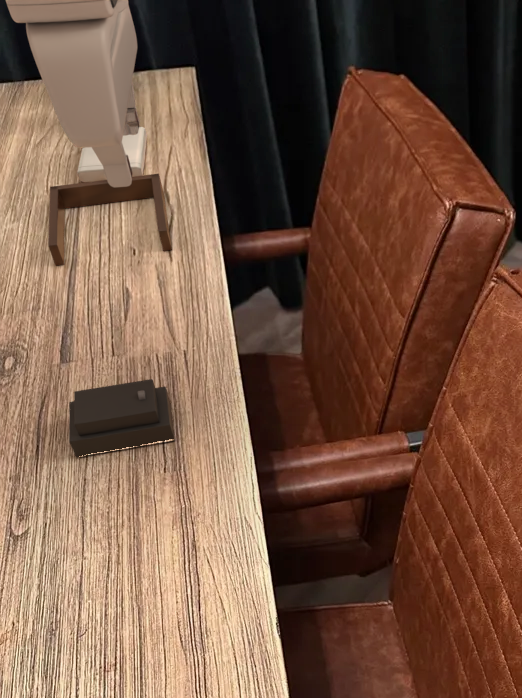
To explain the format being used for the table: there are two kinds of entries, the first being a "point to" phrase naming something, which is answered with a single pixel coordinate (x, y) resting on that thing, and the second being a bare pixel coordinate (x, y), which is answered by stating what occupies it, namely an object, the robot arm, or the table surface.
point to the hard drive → (133, 147)
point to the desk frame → (99, 195)
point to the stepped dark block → (119, 417)
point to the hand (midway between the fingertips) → (126, 156)
